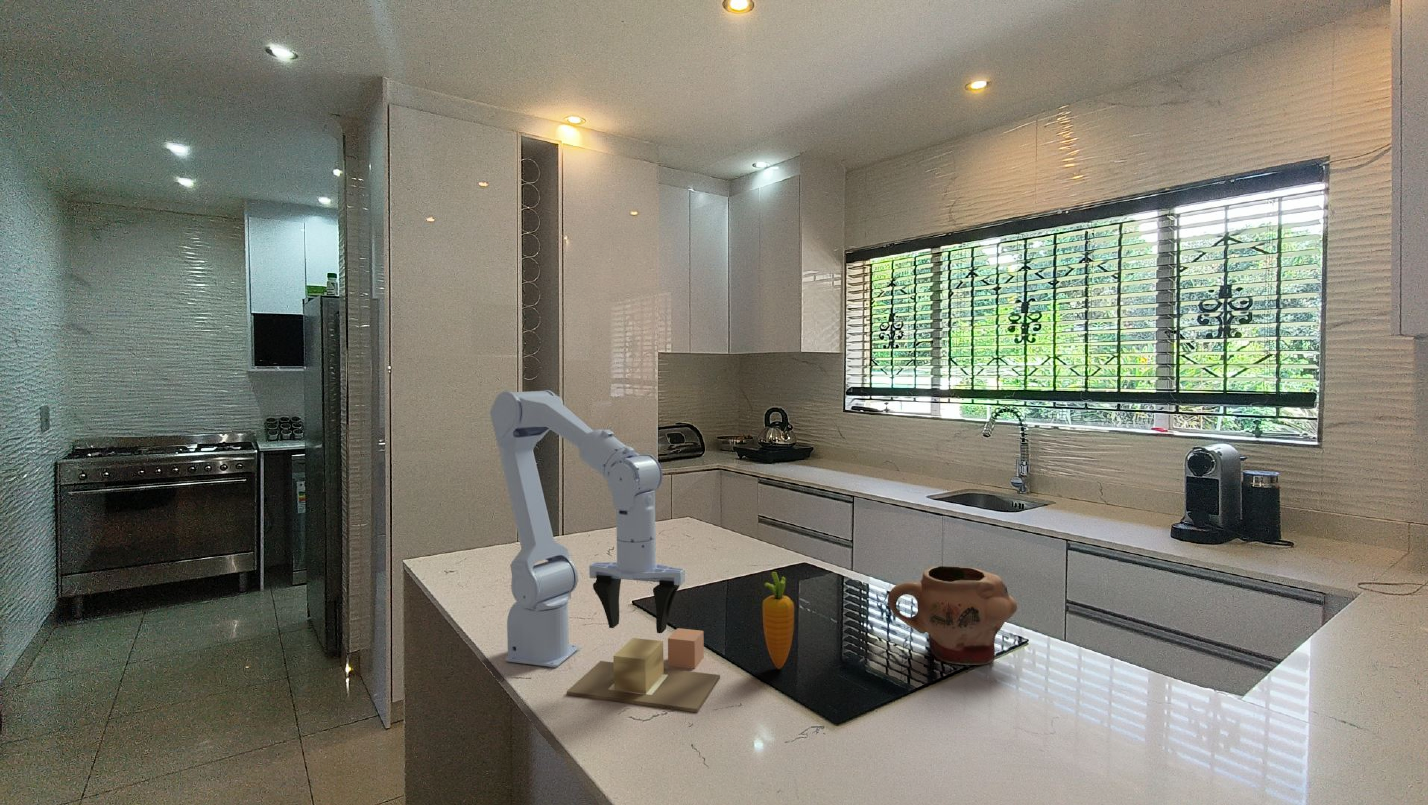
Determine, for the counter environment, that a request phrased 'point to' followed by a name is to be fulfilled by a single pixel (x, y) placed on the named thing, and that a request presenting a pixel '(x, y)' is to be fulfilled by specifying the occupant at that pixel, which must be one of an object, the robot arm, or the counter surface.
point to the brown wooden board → (666, 693)
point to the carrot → (778, 622)
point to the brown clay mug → (958, 612)
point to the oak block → (638, 665)
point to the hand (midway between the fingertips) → (637, 628)
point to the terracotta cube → (685, 648)
